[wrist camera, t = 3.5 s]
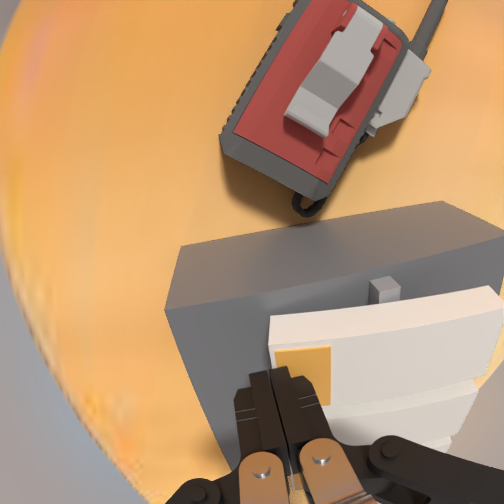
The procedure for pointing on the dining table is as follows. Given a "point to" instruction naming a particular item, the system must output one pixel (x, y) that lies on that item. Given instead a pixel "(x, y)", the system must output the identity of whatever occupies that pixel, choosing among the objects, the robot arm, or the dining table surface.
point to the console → (312, 287)
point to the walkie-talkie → (326, 93)
